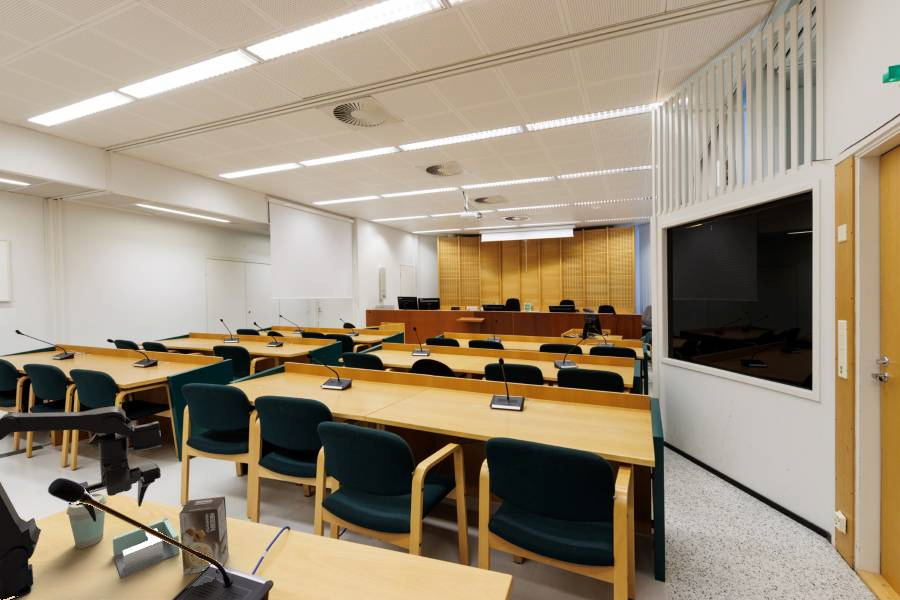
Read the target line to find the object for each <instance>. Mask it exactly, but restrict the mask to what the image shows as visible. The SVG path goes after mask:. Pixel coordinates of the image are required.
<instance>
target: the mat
mask: <svg viewBox="0 0 900 600" xmlns="http://www.w3.org/2000/svg"><path fill="white" fill-rule="evenodd" d="M162 542H163V556H162V557H160V558H157V559H155V560H153V561H150V562H148V563H146V564H143V565H141V566H138V567H136V568H134V569H131V570H129V571H127V572H125V570H124V565H123V553H122V554H119V555H117V556H114V555H113V558H114V561H115V564H116V567H117V570H118V572H119V576H120V577H119V578H120V579H122V578H125V577H127V576H129V575H132V574H134V573H137V572H140V571H142V570H144V569H146V568H148V567H151V566H153V565H155V564H158V563H160V562H163V561H165V560H167V559H170V558H172V557H175V556H174V553H173V551H172V549H171V548H170V546H169V544H168V543H167V542H165V541H163V540H162Z"/></svg>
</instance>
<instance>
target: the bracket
mask: <svg viewBox="0 0 900 600" xmlns="http://www.w3.org/2000/svg"><path fill="white" fill-rule="evenodd" d="M154 530H156V531H157V529H154ZM145 534H146V542H144V543H142V544H139V545H136V546H134V547H131V548H129V549H126V550H124V551H123V565H124V570H125V572H127V571H129V570H131V569H134V568H136V567H138V566H141V565H143V564H146V563H148V562H150V561H153V560H155V559H157V558H160V557H162V556H163V542H162V539H160V538H158V537H156V536H153V535H151V534H149V533H147V532H145Z"/></svg>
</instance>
